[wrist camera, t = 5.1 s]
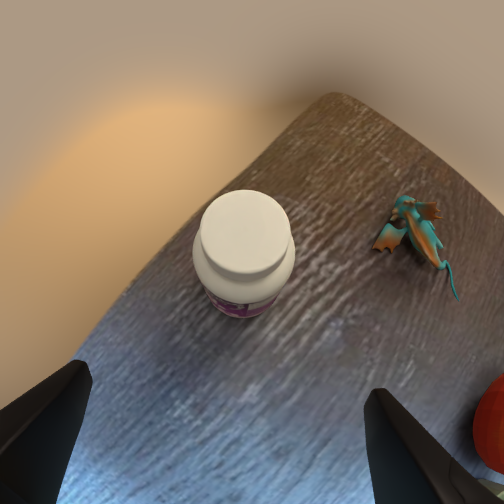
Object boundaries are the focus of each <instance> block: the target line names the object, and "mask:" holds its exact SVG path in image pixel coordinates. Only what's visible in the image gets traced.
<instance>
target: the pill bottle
mask: <svg viewBox="0 0 504 504" xmlns="http://www.w3.org/2000/svg"><path fill="white" fill-rule="evenodd" d="M294 261H295V246H294V241H293V238H292V235H291V232H290V224H289V220H288V218H287V215H286V213H285V212H284V210H283V209H282V207H281V206H280V205H279V204H278V203H277V202H276V201H275V200H273V199H272V198H271V197H269V196H267V195H265V194H263V193H260V192H257V191H253V190H238V191H233V192H229V193H226V194H224V195H222V196H220V197H219V198H217V199H216V200H215V201H213V202H212V204H211V205H210V206H209V207H208V208H207V210H206V211H205V213H204V215H203V217H202V220H201V224H200V228H199V230H198V232H197V234H196V237H195V240H194V244H193V262H194V266H195V270H196V272H197V275H198V277H199V279H200V281H201V283H202V285H203V287H204V289H205V291H206V293H207V295H208V297H209V299H210V300H211V302H212V303H213V304H214V306H215V307H216V308H217V309H219V310H220V311H221V312H223V313H225V314H227V315H229V316H232V317H237V318H248V317H253V316H256V315H259V314H261V313H262V312H264V311H265V310H267V309H268V308H269V307H270V306H271V305H272V304H273V302H274V301H275V299H276V298H277V296H278V295H279V293H280V291H281V290H282V288H283V286H284V285H285V283H286V282H287V280H288V278H289V277H290V275H291V272H292V269H293V265H294Z"/></svg>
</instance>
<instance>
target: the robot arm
mask: <svg viewBox="0 0 504 504" xmlns="http://www.w3.org/2000/svg"><path fill="white" fill-rule="evenodd" d="M92 383H93V380H92V376H91V374H90V371H89V368H88V365H87V363H86V362H84V361H80V360H73V361H71V362H70V363H68V364H67V365H65V366H64V367H62V368H61V369H59V370H58V371H56V372H55V373H53V374H52V375H51V376H49V377H48V378H46V379H45V380H43V381H42V382H40V383H39V384H37V385H36V386H35V387H33V388H32V389H30V390H29V391H27V392H26V393H24V394H23V395H22V396H20V397H19V398H17V399H16V400H14V401H13V402H11V403H10V404H9V405H7V406H6V407H4V408H3V409H1V410H0V504H56V501H57V498H58V494H59V491H60V488H61V485H62V481H63V478H64V475H65V472H66V469H67V466H68V463H69V460H70V457H71V454H72V451H73V448H74V445H75V442H76V439H77V437H78V434H79V431H80V428H81V425H82V422H83V419H84V415H85V411H86V407H87V403H88V399H89V395H90V392H91V388H92ZM364 421H365V435H366V450H367V457H368V462H369V468H370V474H371V480H372V486H373V492H374V499H375V504H504V500H502V499H501V498H499V497H498V496H496V495H495V494H494V493H493V492H491V491H490V490H489V489H488V488H486V487H485V486H484V485H483V484H481V483H480V482H479V481H478V480H476V479H475V478H474V477H473V476H472V475H471V474H470V473H468V472H467V471H466V470H465V469H464V468H463V467H462V466H461V465H460V464H459V463H458V462H457V461H456V460H455V459H454V458H453V457H451V455H450V454H449V453H448V452H447V451H446V450H445V449H444V448H443V447H442V446H441V445H440V444H439V443H438V442H437V441H436V440H435V439H434V437H433V436H432V435H431V434H430V433H429V432H428V431H427V430H426V429H425V428H424V427H423V426H422V425H421V424H420V423H419V422H418V421H417V420H416V419H415V418H414V417H413V416H412V415H411V414H410V413H409V412H408V411H407V410H406V409H405V408H404V407H403V406H402V405H401V404H400V403H399V402H398V401H397V400H396V399H395V398H394V397H393V395H392V394H391V393H390V392H389V391H388V390H387V389H385V388H376V389H373V390H372V391H371V393H370V395H369V397H368V399H367V401H366V402H365V405H364Z"/></svg>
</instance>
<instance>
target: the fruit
mask: <svg viewBox="0 0 504 504" xmlns="http://www.w3.org/2000/svg"><path fill="white" fill-rule="evenodd" d="M473 439H474V444H475V448H476V451H477V453H478V454H479V456H480V457H481V459H482V460H483V461H484V463H485V464H486V465H487V467H489V468H491V469H493V470H494V471H496V472H499V473H501V474H503V475H504V373H503V374H502V375H500V376H499V377H498V378H497V379H496V380H495V381H493V382H492V383H491V385H490V386H489V388H488V389H487V391H486V392H485V394H484V395H483V396H482V398H481V400H480V402H479V404H478V407H477V409H476V412H475V417H474V421H473Z"/></svg>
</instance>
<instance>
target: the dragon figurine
mask: <svg viewBox="0 0 504 504" xmlns="http://www.w3.org/2000/svg"><path fill="white" fill-rule="evenodd" d="M436 204H437V202H426V203H422V202H420V201H419V200H417V199H416V200H415V199H413V198H411V197H409V196H401V197H399V198H398V199H397V201H396V203H395V208H393V210H392V214H393V216H392V218H391V219H390V220H392V221H396V220H397V219H398V218H402V219H404V220H405V221H406V227H405V228H403V229H400V230H398V229H396V228H394V227H393V226H392V225H391V224H389V223H388V224H386V225H385V227H384V228H383V230H382V232H381V233H380V235H379V237H378V238H377V240H376V242H375V244H374V245H373V247H372V249H374V248H377V249H379V250H380V251H381V252H382V251H383V250H384V248H385V247H388V248H390V250H391V253H392V252H393V249H394V248H395V246H397V245H400V241H401V239H402V237H403V236H404V234H405V233H406V232H407V231H408V234H409V237H410V240H411V242H412V244H413V246H414V247H415V248H416V249H417V250H418V251H419V252H420V253H421V254H422V255H423V256H424V257H425V258H426V259H427V260H428V261H429V262H430V263H431V264H432V265H433V266H434V267H435V268H437V269H438V270H443V269H444V268H445V265H447V267H448V270H449V274H450V280H451V287H452V291H453V293H454V295H455V297H456V299H457V300H458V301H459V299H458V297H457V294H456V291H455V289H454V285H453V278H452V272H451V268H450V266H449V264H448V262H447V261H446V260H444V261H443V262H441V261H440V259H439V257H438V254H437V251H436V246H437V247H438V249H441V248H443V246H442V244H441V242H440V241H439V239H438V238H437V237H436V235H435V234H434V232H433V230H434V231H435V229H434V227H433V225H432V223H431V222H430V220H431V221H434V219H442V217H437V216H435V212H440V210H438V209H436ZM416 209H417V211H418V213H419V214H418V213H417V212H416Z"/></svg>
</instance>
